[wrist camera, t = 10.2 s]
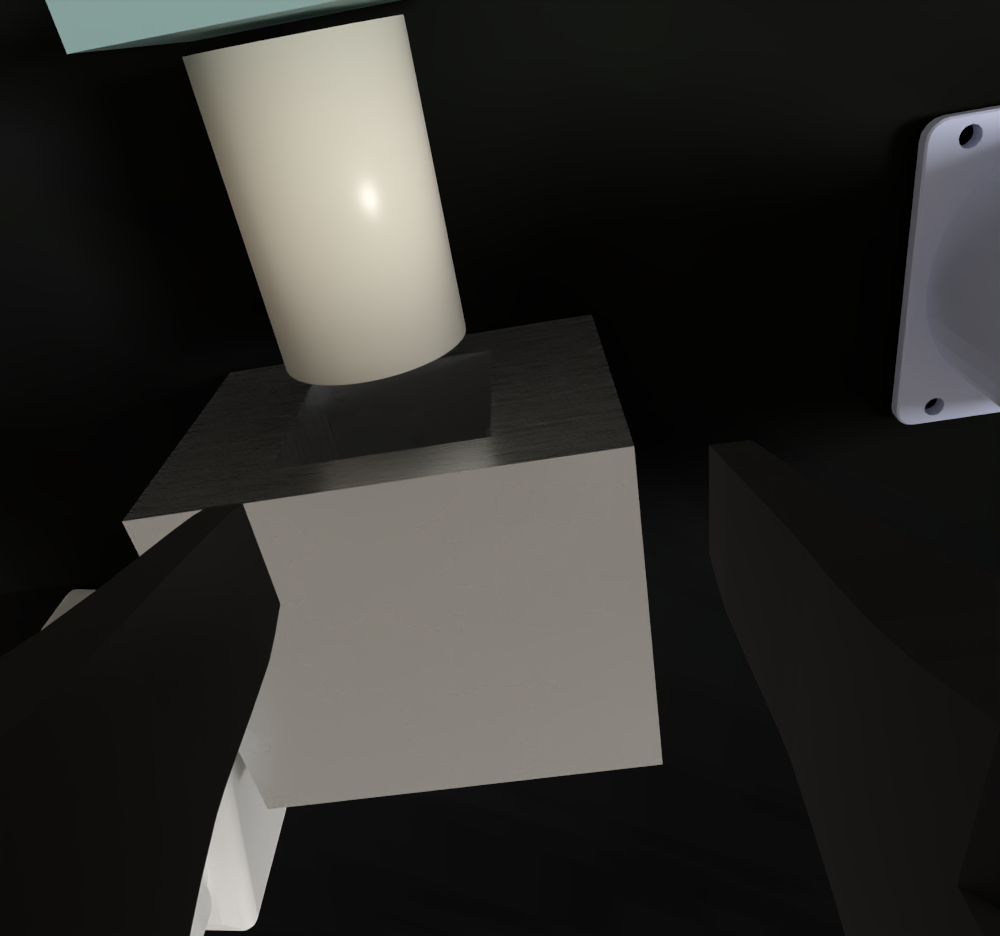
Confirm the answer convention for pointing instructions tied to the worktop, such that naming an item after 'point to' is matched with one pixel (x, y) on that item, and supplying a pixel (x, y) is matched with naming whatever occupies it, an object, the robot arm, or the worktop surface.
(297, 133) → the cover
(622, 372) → the worktop surface
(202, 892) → the medicine bottle
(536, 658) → the block
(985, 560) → the worktop surface
